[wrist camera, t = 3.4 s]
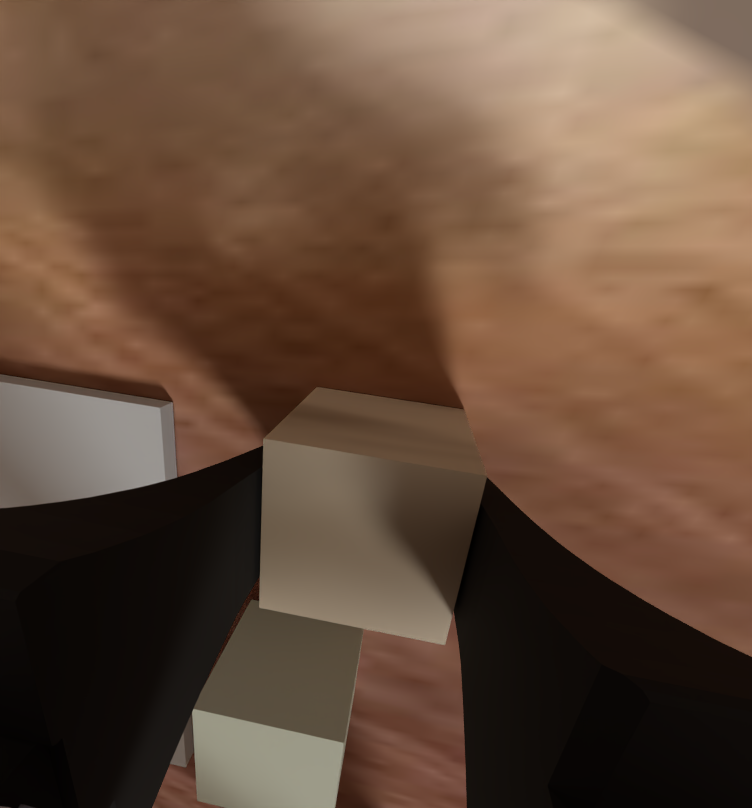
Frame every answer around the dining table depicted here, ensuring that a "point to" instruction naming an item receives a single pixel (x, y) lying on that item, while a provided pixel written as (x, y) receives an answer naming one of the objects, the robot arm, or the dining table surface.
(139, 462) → the white flat board
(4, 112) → the dining table surface
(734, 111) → the dining table surface
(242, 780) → the sage block
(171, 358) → the dining table surface
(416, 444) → the birch block
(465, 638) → the robot arm
